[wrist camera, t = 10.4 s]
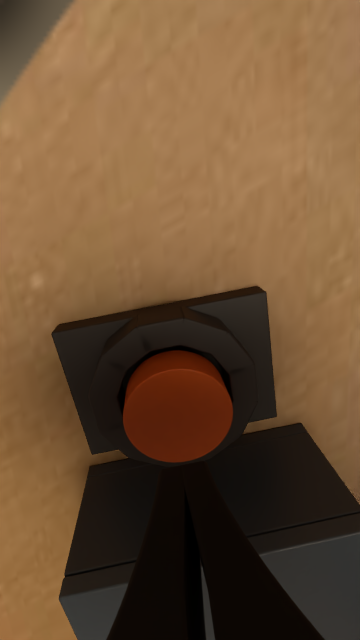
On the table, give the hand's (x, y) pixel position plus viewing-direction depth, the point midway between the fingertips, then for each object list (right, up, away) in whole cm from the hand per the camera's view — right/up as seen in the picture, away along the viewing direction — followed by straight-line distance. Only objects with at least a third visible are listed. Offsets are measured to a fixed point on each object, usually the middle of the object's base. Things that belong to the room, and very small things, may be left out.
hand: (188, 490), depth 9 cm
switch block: (-1, +2, +7) cm, 8 cm away
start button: (0, +2, +5) cm, 5 cm away
